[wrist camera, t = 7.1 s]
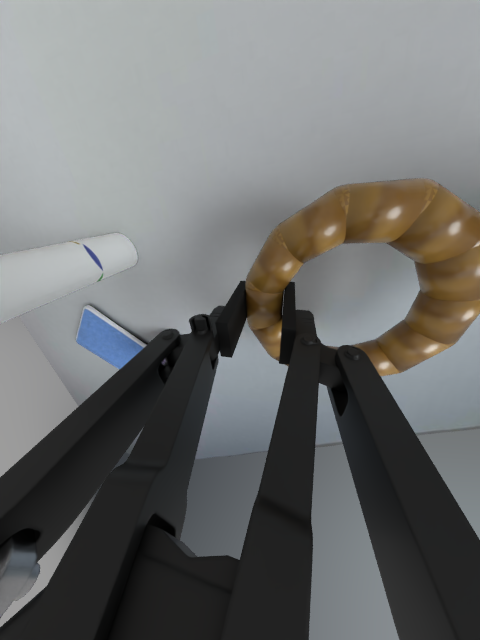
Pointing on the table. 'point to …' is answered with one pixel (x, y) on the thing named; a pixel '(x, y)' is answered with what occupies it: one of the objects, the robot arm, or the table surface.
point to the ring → (402, 234)
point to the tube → (59, 271)
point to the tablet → (106, 338)
